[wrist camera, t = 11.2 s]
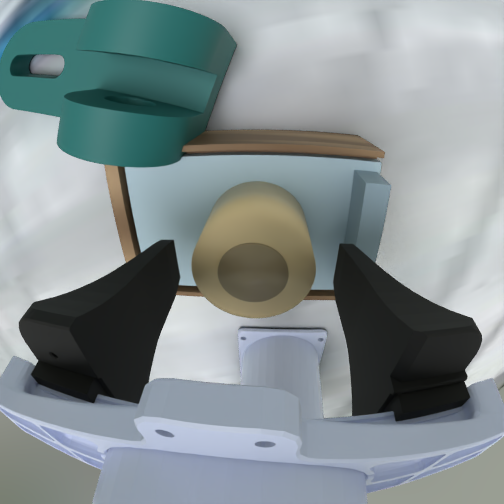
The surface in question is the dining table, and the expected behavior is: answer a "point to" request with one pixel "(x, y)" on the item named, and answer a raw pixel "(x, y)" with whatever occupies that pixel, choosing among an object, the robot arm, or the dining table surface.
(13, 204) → the dining table surface
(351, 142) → the pencil box
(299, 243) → the tape roll
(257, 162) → the lid
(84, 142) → the bracket
